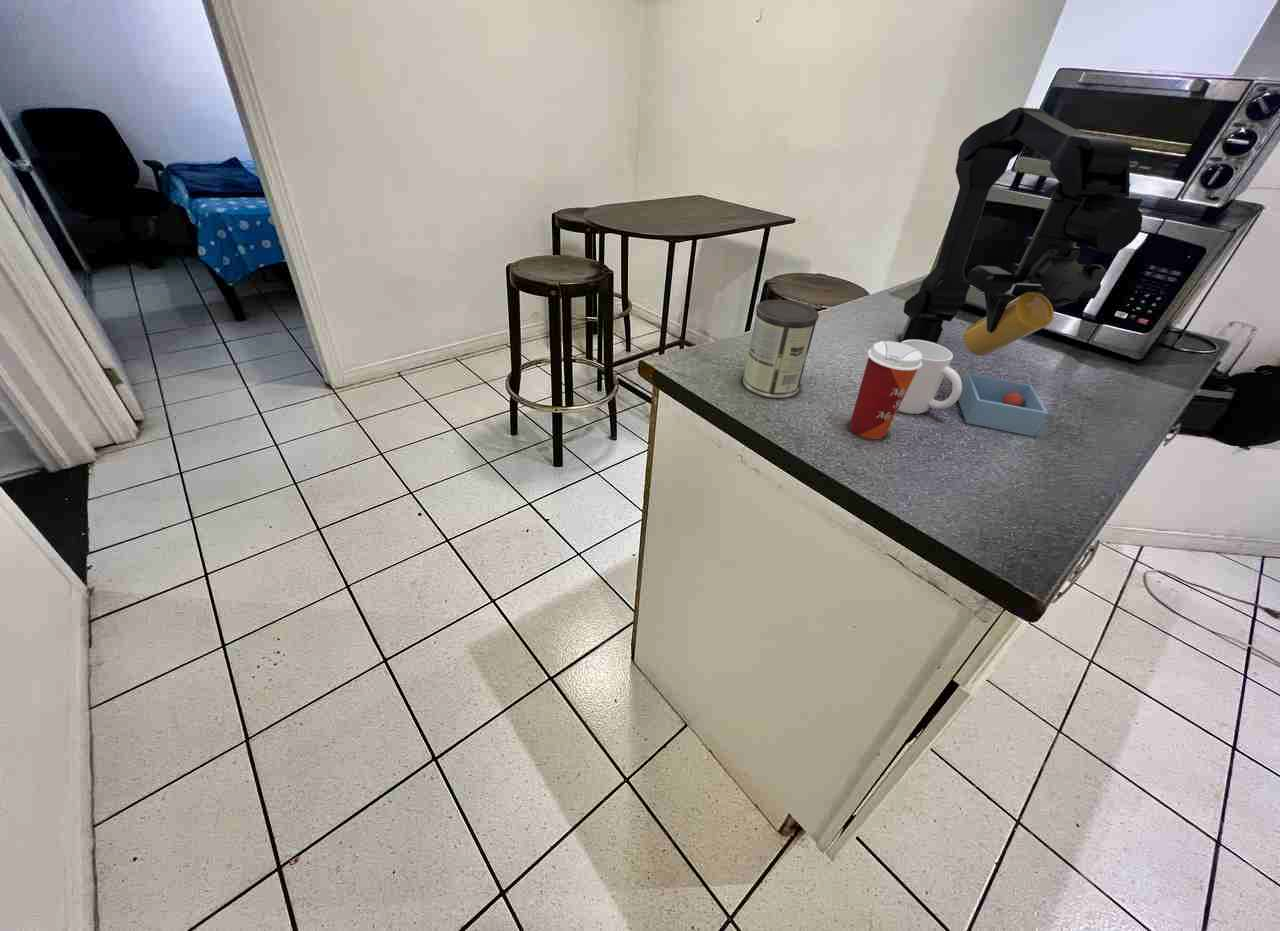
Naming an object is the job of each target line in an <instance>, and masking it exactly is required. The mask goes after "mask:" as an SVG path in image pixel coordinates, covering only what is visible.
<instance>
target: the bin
mask: <svg viewBox="0 0 1280 931" xmlns="http://www.w3.org/2000/svg"><path fill="white" fill-rule="evenodd" d="M1009 393H1018V394H1020V395H1021V396H1022V397H1023V404H1022V406H1021V407H1018V406H1012V405H1007V404H1003V403H1002V401H1003V398H1004V397H1005V396H1006V395H1007V394H1009ZM957 401H958V404H959V406H960V410H961V413H962V415H963V418H964V421H965V424H970V425H974V426H978V427H985V428H990V429H995V430H999V431H1003V432H1004V431H1006V432H1010V433H1014V434H1015V433H1016V434H1018V435H1019V434H1020V435H1025V436H1029V437H1035V436H1036V434H1037V433H1038V431H1039V429H1040V428H1041V426H1042V425H1043V423H1044V422H1045V420H1046V418H1047V416H1048V415H1049V412H1048V410H1047V409H1046V407H1045V405H1044V404H1043V402H1042V400H1041V398H1040V397H1039V395H1038V393H1037V392H1036V390H1035V388H1034V386H1033V385H1032V384H1028V383H1023V382H1018V381H1012V380H1007V379H1001V378H995V377H990V376H986V375H979V374H974V373H966V375H965V377H964V379H963V380H962V391H961V394H960V397H959V398H958V400H957Z"/></svg>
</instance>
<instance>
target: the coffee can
mask: <svg viewBox="0 0 1280 931" xmlns="http://www.w3.org/2000/svg"><path fill="white" fill-rule="evenodd" d="M819 316H820V314H819V312H818V311H817V310H816V309H815V308H814V307H812V306H810V305H808V304H805V303H802V302H798V301H794V300H787V299H768V300H763V301H761V302H759V303H757V305H756V308H755V316H754V321H753V327H752V328H753V329H752V333H751V337H750V342H749V343H750V344H749V349H748V355H747V360H746V364H745V369H744V374H743V378H742V383H743V385H744V386H745V388H746V389H748V390H749V391H750V392H752V393H755V394H756V395H759V396H763V397H766V398H771V399H772V398H773V399H784V398H785V399H786V398H790V397H792V396H795V395H796V394H797V393H798V392H799V390H800V384H801V380H802V377H803V373H804V370H805V365H806V361H807V358H808V354H809V352H810V351H809V350H810V348H811V347H810V346H811V343H812V339H813V336H814V332H815V328H816V325H817V322H818V319H819Z"/></svg>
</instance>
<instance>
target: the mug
mask: <svg viewBox="0 0 1280 931" xmlns="http://www.w3.org/2000/svg"><path fill="white" fill-rule="evenodd" d="M900 343H902V344H906V345H909V346H911V347H913V348H915V349H917V350H918V351H919V352H920V353H921V354H922V359H921V361H922V366H921V368H919V369H918V370H917V372H916V374H915V376H914V378H913V380H912V382H911V384H910V386H909V388H908V390H907V392H906V394H905V396H904V398H903V400H902V402H901V404H900V406H899V408H898V410H897V412H900V413H903V414H908V415H919V414H920V415H921V414H923V413H925V412H927V411H928V410H929V409H930V408H932V409H936V410H943V409H947V408H950V407H952V406H953V405H954V404H955V403H956V402H957V401H958V398H959V397H960V394H961V391H962V383H963V380H962V377H961V376H960V375H959V373H958V372H957V371H956V370H955V369H954V368H953V367H951V366H950V364H951V362H952V360H953V358H954V354H953V352H952V351H951V350H950V349H948V348H946V347H945V346H943V345H941V344H939V343H937V344H936V343H932V342H928V341H924V340H905V341H903V342H901V341H900ZM944 378H947V379H948V380H949V381H950V382H951V385H952V390H951V393H950V395H949V396H948V397H947V398H946V399H944V400H938V399H935V397H936V395H937V393H938V391H939V389H940V387H941V384H942V382H943V380H944Z"/></svg>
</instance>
